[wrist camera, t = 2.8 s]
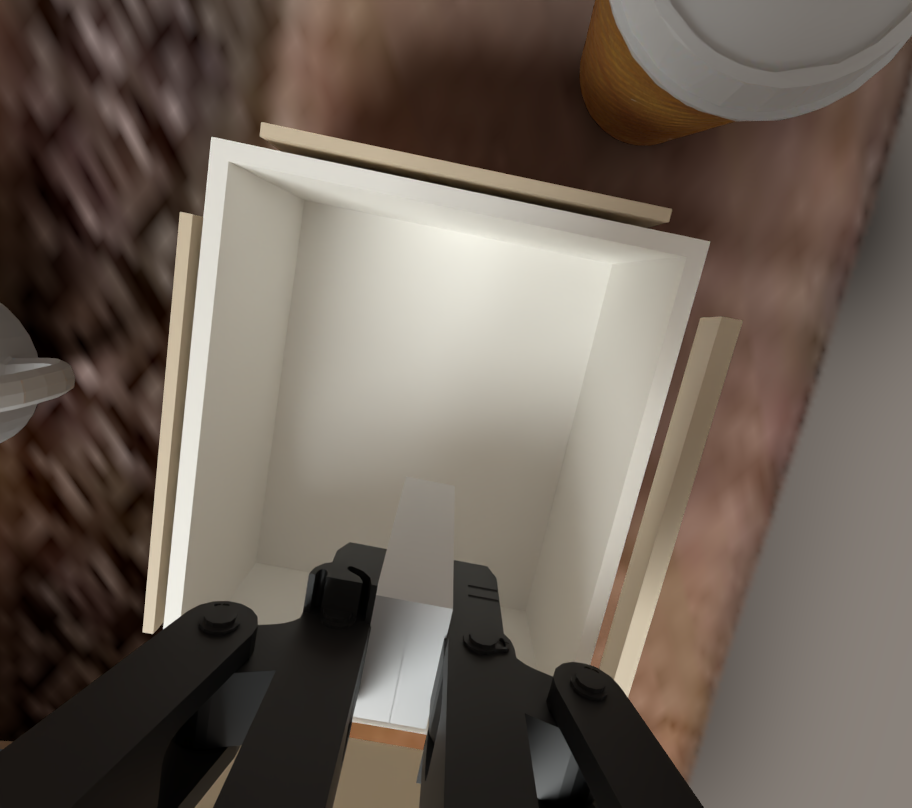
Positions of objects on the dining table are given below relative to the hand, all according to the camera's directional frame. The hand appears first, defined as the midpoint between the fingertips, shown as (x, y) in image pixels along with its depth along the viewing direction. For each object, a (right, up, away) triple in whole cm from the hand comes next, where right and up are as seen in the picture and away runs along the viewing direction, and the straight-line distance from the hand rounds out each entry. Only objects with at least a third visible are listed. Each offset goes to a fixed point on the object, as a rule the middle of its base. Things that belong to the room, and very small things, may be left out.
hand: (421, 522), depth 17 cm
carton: (-1, +3, +12) cm, 12 cm away
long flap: (+6, -1, -1) cm, 6 cm away
